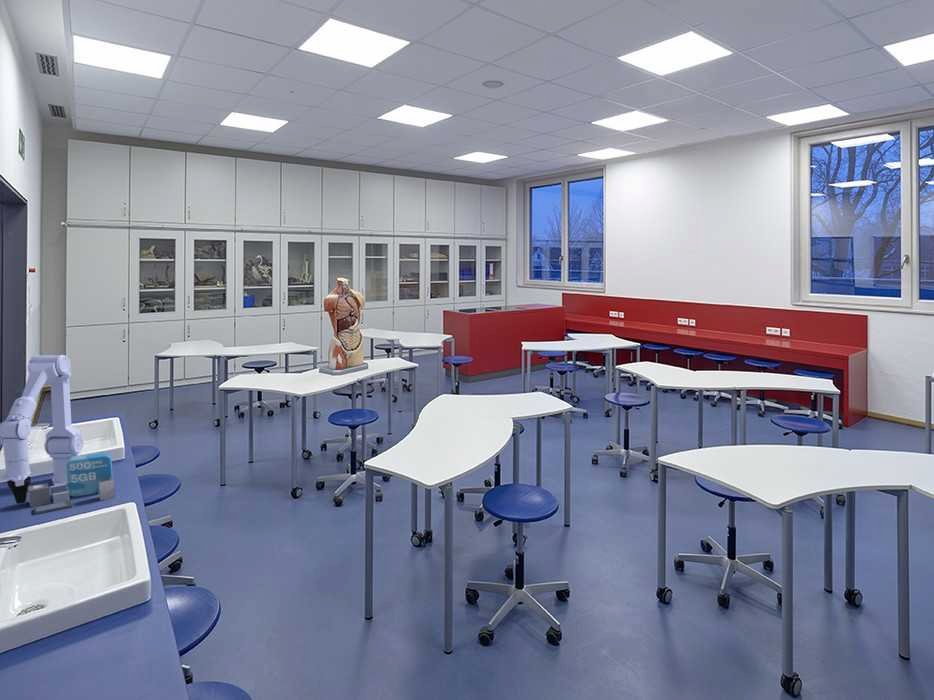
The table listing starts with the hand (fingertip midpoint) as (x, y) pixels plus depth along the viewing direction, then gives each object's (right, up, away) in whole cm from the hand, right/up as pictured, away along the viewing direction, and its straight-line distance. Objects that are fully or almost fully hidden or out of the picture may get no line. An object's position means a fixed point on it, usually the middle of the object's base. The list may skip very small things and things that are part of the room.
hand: (21, 502), depth 181 cm
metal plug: (+22, 0, +7) cm, 23 cm away
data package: (+14, 0, +12) cm, 18 cm away
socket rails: (+8, 0, +6) cm, 10 cm away
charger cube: (+3, -1, +3) cm, 5 cm away
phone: (+11, -2, -2) cm, 11 cm away
